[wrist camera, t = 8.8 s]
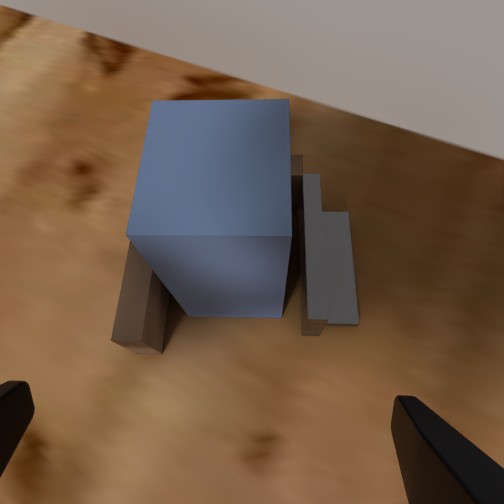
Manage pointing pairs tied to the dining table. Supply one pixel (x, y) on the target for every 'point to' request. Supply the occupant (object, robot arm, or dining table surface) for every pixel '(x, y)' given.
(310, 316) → the bookend
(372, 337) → the dining table surface
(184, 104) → the book
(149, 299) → the rack
